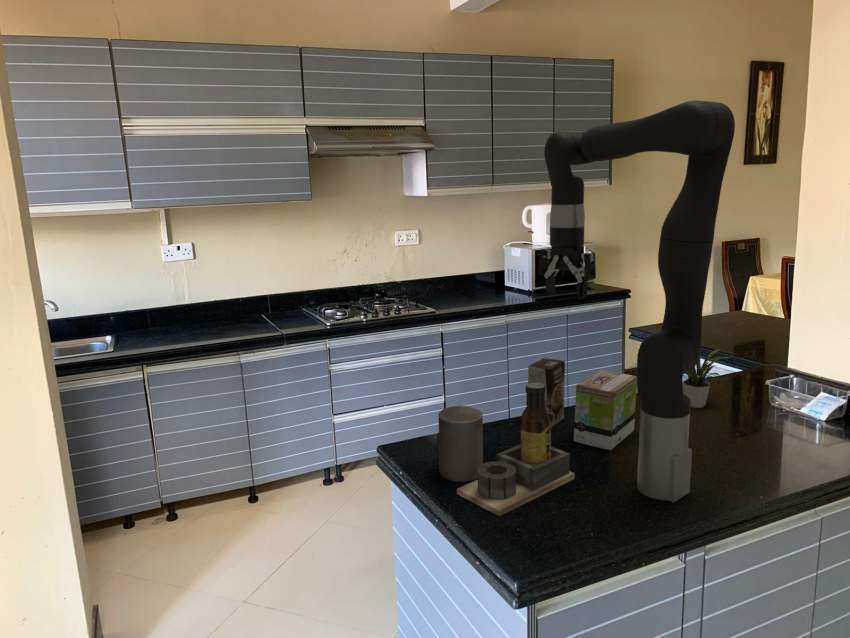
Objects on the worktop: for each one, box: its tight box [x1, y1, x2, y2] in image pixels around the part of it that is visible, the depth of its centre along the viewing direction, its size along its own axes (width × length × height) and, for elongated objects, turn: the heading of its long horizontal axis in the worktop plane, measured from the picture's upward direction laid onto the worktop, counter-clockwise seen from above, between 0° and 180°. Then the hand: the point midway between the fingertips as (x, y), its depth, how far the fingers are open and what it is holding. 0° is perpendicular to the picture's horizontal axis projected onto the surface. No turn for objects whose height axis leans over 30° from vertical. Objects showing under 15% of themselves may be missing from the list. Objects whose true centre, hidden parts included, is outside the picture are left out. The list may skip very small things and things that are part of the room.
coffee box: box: [527, 357, 566, 428], centre depth 167 cm, size 9×6×16 cm
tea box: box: [573, 369, 637, 451], centre depth 157 cm, size 15×10×15 cm, turn 143°
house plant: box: [682, 349, 729, 409], centre depth 176 cm, size 14×14×16 cm
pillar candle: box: [438, 405, 484, 483], centre depth 140 cm, size 10×10×15 cm
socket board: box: [456, 443, 576, 517], centre depth 134 cm, size 12×23×6 cm, turn 130°
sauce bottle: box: [520, 383, 552, 466], centre depth 135 cm, size 7×6×20 cm
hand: (565, 296), depth 147 cm, fingers open, 8 cm apart
